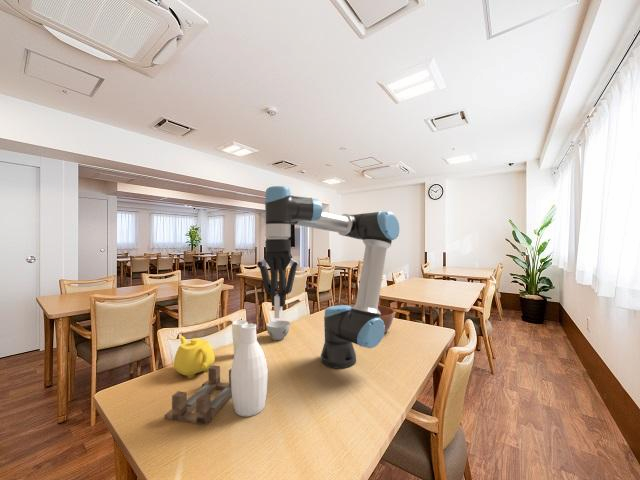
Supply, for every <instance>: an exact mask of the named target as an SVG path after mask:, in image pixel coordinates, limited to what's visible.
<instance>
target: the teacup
mask: <svg viewBox="0 0 640 480" xmlns="http://www.w3.org/2000/svg"><path fill="white" fill-rule="evenodd" d="M290 327H291V322H289V321H287V320H273V321H269V322H267V323H266V331H267V334H268V335H269V337H270V338H272V340H273V339H274V340H273V341H282V340H284V339H285V337H286V336H287V335H288V333H289V332H290Z"/></svg>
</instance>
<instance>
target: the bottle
mask: <svg viewBox="0 0 640 480" xmlns="http://www.w3.org/2000/svg"><path fill="white" fill-rule="evenodd" d="M241 328H242V342H241V344H240V346H239V347H238V349H237V351H236V353H235V356H234V355H233V360H232V363H231V368H230V369H231V390H232V398H231V399H232V404H233V409H234V412H235V413H236V414H237V415H238V416H241V417H252V416H255V415H258V414H259V413H261V412H262V410H263V409H264V408H265V406H266V401H267V400H266V398H267V393H268V392H267V391H268V375H269V374H268V373H269V372H268V371H269V370H268V364H267V363H268V362H267V359H266V356H265V354H264V350H263V348H262V346H261V345H260V344H259V342H258V339H257V324H256V323H248V324H245V325H242V327H241Z"/></svg>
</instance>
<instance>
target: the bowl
mask: <svg viewBox="0 0 640 480" xmlns="http://www.w3.org/2000/svg"><path fill="white" fill-rule="evenodd" d="M378 310H379V311H380V313H381V315H380V319H381V320H383V322H384V325H385V332H384V334H385V333H386V332H388V331H389V329H390V327H391V326H392V323H393V320H394V315H395V309H393V308H391V307H387V306H385V305H379V304H378Z"/></svg>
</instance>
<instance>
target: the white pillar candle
mask: <svg viewBox="0 0 640 480" xmlns="http://www.w3.org/2000/svg"><path fill="white" fill-rule="evenodd" d="M245 324H249V323H248V321H247V320H243V319H242V320H235V321H233V322H232V323H231V332H232V333H231V334H232V344H233V357H234V356H235V353H236V351H237V349H238V347H239V346H240V344H241V342H242V328H241V327H242V325H245Z"/></svg>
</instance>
